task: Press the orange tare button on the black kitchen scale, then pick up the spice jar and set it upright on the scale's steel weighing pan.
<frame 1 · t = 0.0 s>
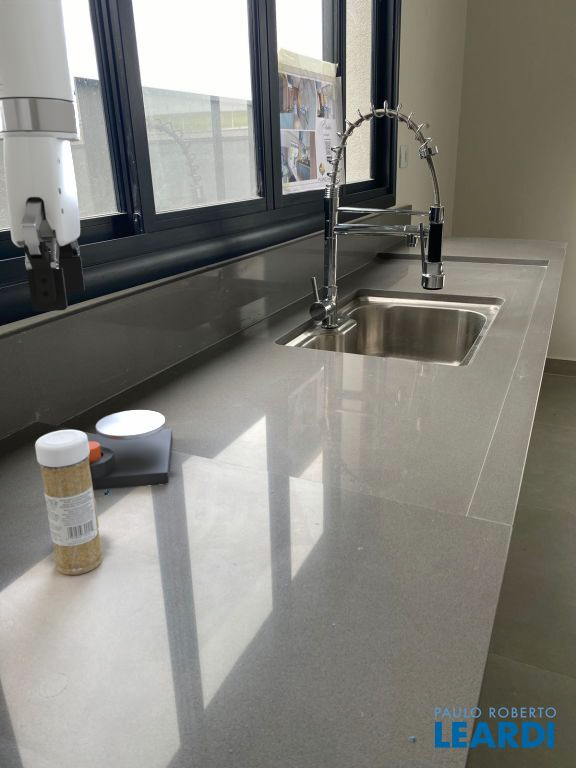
hand: (61, 300, 63), 24 cm above the counter, tool pointing down, fingers open, 9 cm apart
tare button: (88, 452, 74), point 4 cm above the counter, slide at 0.2 cm
scale: (125, 463, 80), on the counter
spice jar: (79, 564, 59), on the counter
weighing pan: (134, 456, 82), resting on scale
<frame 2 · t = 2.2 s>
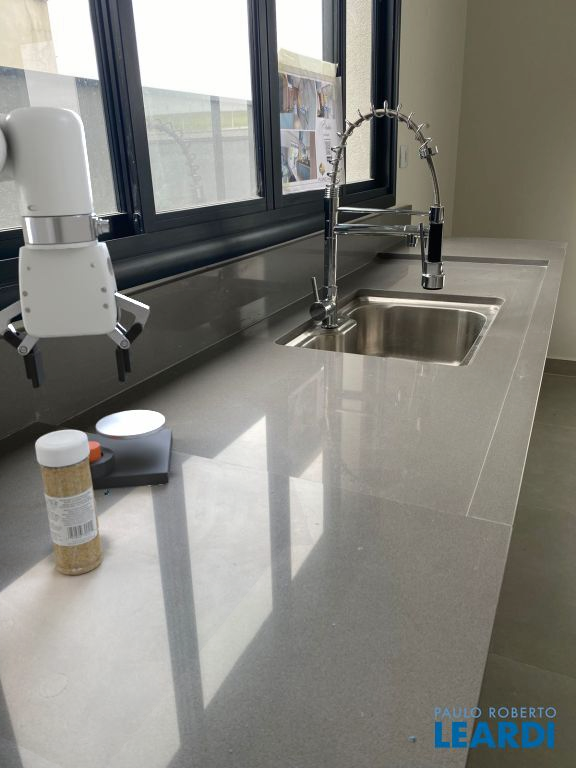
hand: (82, 381, 71), 13 cm above the counter, tool pointing down, fingers open, 9 cm apart
nothing on the counter moved.
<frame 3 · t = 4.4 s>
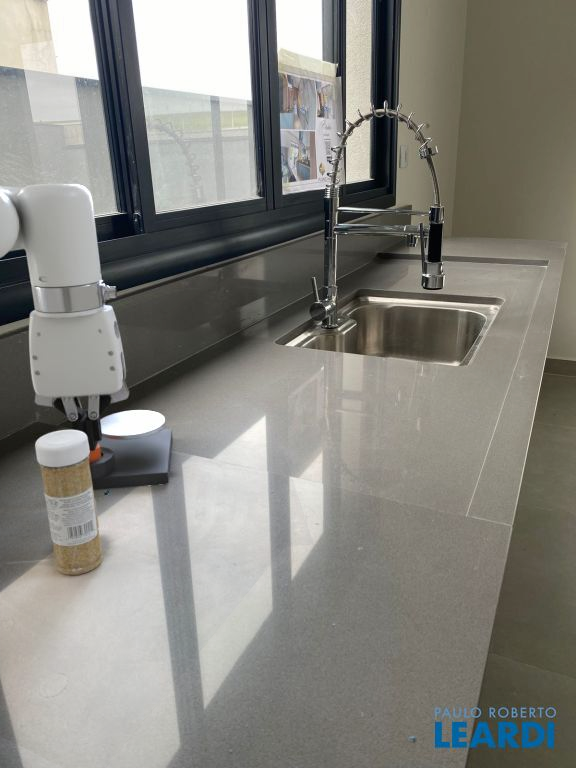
hand: (89, 446, 74), 5 cm above the counter, tool pointing down, fingers closed
tare button: (88, 453, 74), point 4 cm above the counter, slide at 0.0 cm, touching gripper
everything else where it was.
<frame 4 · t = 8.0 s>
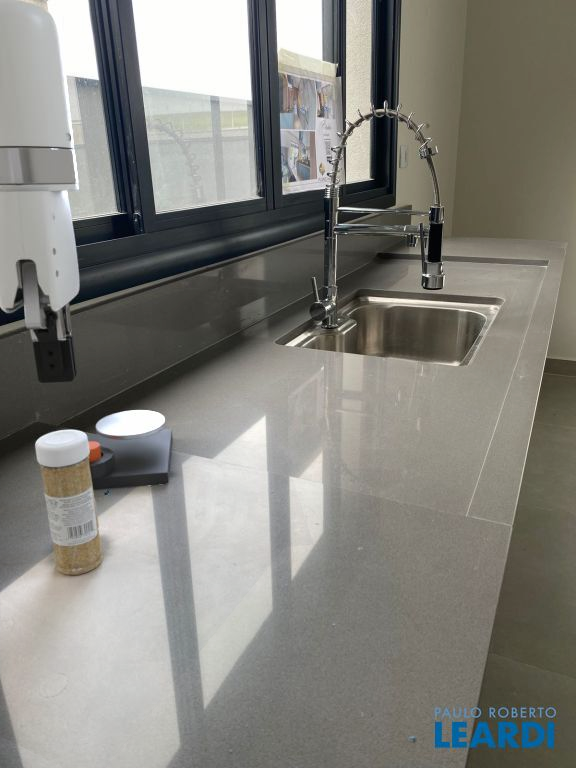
hand: (58, 379, 57), 18 cm above the counter, tool pointing down, fingers closed
tare button: (88, 452, 74), point 4 cm above the counter, slide at 0.2 cm
everything else where it was.
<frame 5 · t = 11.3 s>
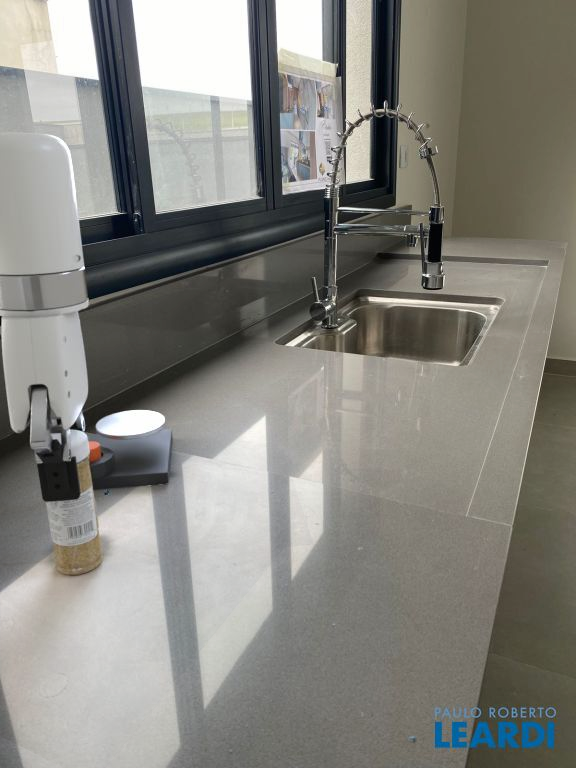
hand: (68, 483, 57), 9 cm above the counter, tool pointing down, fingers closed on spice jar, 4 cm apart
spice jar: (79, 564, 59), on the counter, touching gripper
everything else where it was.
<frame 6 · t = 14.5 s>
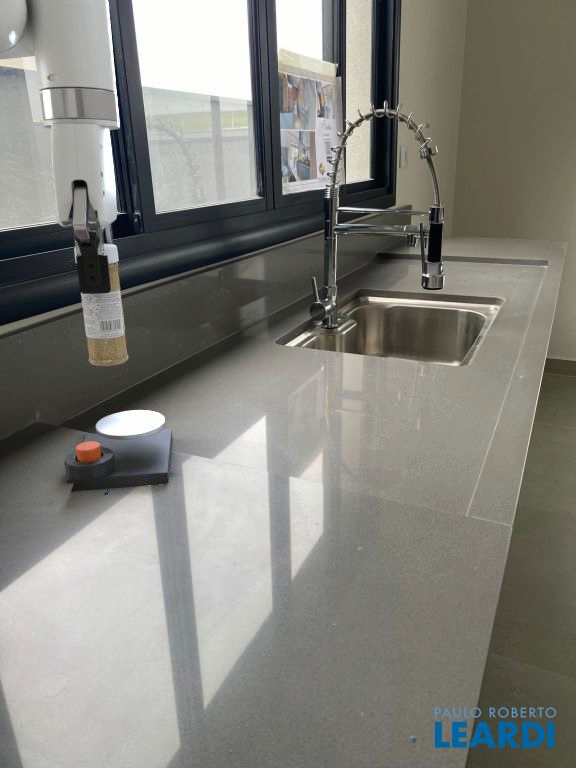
hand: (100, 287, 68), 24 cm above the counter, tool pointing down, fingers closed on spice jar, 4 cm apart
spice jar: (108, 363, 71), point 15 cm above the counter, touching gripper
everything else where it was.
when the fingers open (14 cm above the counter, at t = 17.8 s): spice jar stays where it is, resting on weighing pan.
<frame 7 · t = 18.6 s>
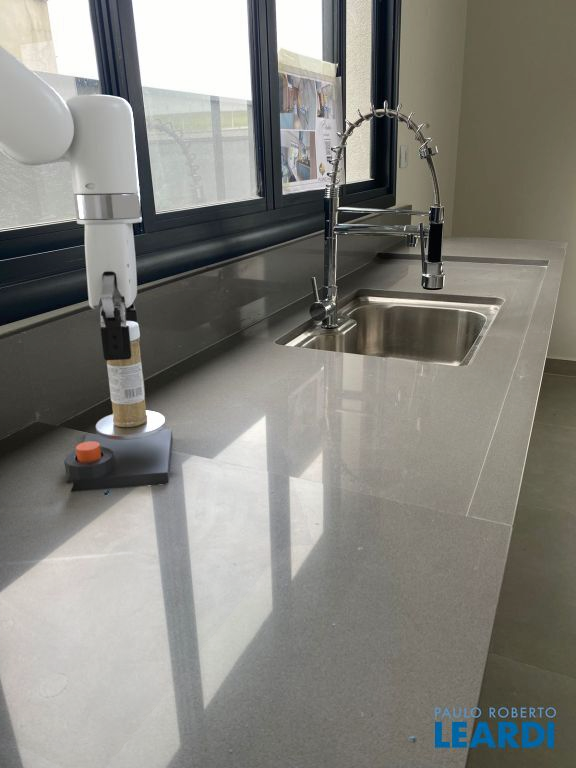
hand: (122, 348, 77), 15 cm above the counter, tool pointing down, fingers open, 9 cm apart
spice jar: (130, 423, 81), point 5 cm above the counter, touching weighing pan
everything else where it was.
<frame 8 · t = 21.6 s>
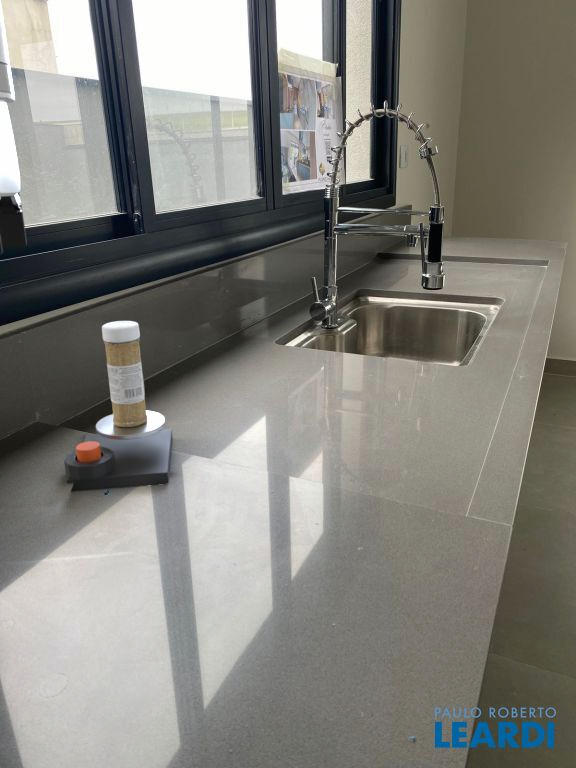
hand: (1, 250, 69), 28 cm above the counter, tool pointing down, fingers open, 9 cm apart
nothing on the counter moved.
at the end: tare button pushed in 1.1 cm at the most during the clip, back to 0.2 cm at the end; spice jar 0.0 cm off-centre on the weighing pan, point 4.9 cm above the weighing pan's base; spice jar tilted 0° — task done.
